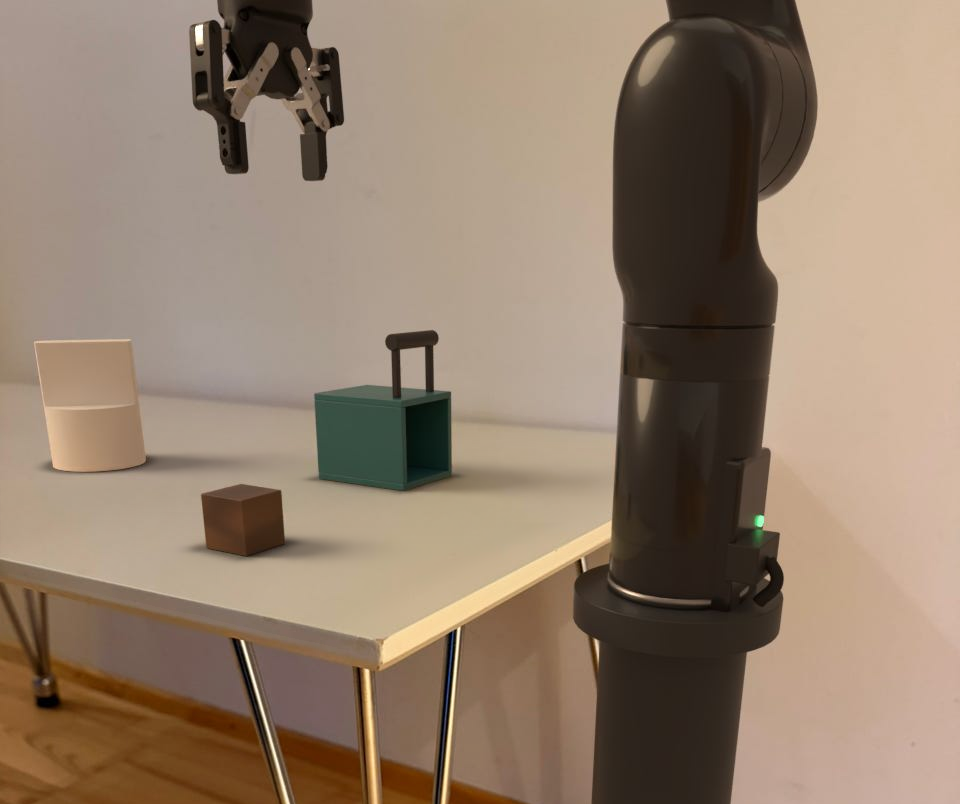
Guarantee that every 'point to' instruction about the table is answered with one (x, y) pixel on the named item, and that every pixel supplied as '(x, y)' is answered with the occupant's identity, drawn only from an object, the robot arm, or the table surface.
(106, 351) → the base with upright slab
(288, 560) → the table surface
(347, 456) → the teal open storage bin
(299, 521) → the table surface
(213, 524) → the block
